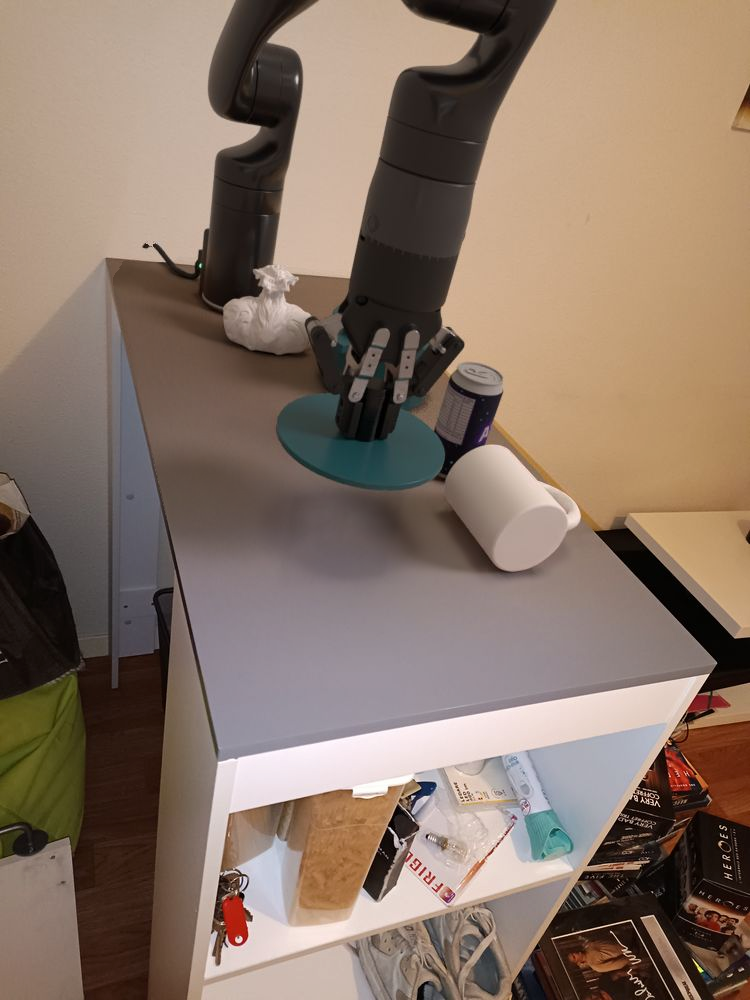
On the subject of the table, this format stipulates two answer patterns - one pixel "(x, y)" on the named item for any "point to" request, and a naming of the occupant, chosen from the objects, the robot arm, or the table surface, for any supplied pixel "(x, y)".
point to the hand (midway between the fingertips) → (362, 433)
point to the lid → (360, 443)
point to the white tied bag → (268, 316)
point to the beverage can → (467, 410)
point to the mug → (508, 507)
